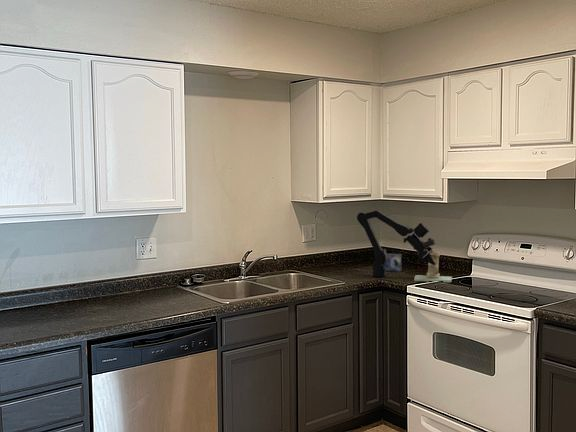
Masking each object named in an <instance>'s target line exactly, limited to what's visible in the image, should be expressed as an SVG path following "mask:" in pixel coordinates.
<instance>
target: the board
mask: <svg viewBox="0 0 576 432" xmlns="http://www.w3.org/2000/svg"><path fill="white" fill-rule="evenodd" d="M452 278H453V276H446V275H445V276H444V275H441V276H437V277H432V276H427V275H421V274H420V275H419V274H417V275H415V276H414V281H415V282H429V281H443V282H442V283H451V282H452V280H453V279H452Z"/></svg>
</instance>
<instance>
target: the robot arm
mask: <svg viewBox="0 0 576 432" xmlns="http://www.w3.org/2000/svg"><path fill="white" fill-rule="evenodd" d="M373 218H376V219H378V221H381V222H383V223H384V224H386V225H387V226H389V227H391V228H393V229H394V231H395V232H396V233H397V234H399V235H400V236H401V237H403V244H405V243H406V242H407V243H409V245H411V247H412V249H413V250H415V251H416V252H417V253H418V254H417V258H418V259H419V260H421V261H424V262H426V263H430V264H433V265H435V262H434V261H433V259H432V258H431V256H430V252H434V251H433V247H432V246H434V245H436V242H435V239H434V238H431V237H429V238H427V240H426V241H423V240H421V239H422V238H423V237H425V236H426V235H427V234H428V233H429V232H430V228H428V227H427V226H425V224H423V223H422V222H419V223H418V225H417V226H416V227H415V228H412V227H410V226H408V225H407V224H403V223H401V222H397V221H396V220H395V219H393V218H391V217H390V216H388V215H386V214H385V213H383V212H382V211H380V210H378V209H377V210H374V211H370V212H366V211H361V212H359V213H358V214H357V216H356V219H357V221H358V223H359V224H360V226H362V228H363V229H364V231H365V234H366V236H367V237H368V240H369V242H370V245H371V247H372V248H373V252H374V257H375V260H373V262H372V263H371V265H372V276H371V277H372V278H384V277H385V276H386V271H385V268H384V264H385V262H387V260H388V254H387V249H386V248H384V249H383V248H382V247H381V244H380V242H379V240H378V238H377V236H376V234H375V232H374V230H373V227H372V224H371V219H373ZM412 233H413V234H412ZM420 238H421V239H420ZM428 252H429V253H428Z"/></svg>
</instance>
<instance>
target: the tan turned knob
mask: <svg viewBox="0 0 576 432" xmlns="http://www.w3.org/2000/svg"><path fill="white" fill-rule="evenodd" d="M428 253H429V252H428ZM430 256H431V258H432V259H433V261H434V262H435V265H433V264H430V263H428V262H427V263H428V267H427V272H426V276H432V277H437V276H440V275H441V273H439V262H440V261H439V260H440V259H439V258H440V257H441V252H439V251H433V252H430Z"/></svg>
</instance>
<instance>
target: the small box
mask: <svg viewBox="0 0 576 432" xmlns="http://www.w3.org/2000/svg"><path fill="white" fill-rule="evenodd" d="M387 254H388V260H387V262H385V264H384V265H383V266H384V268H385V272H388V271H389V272H393V273H402V270H403V269H402V265H403V264H402V257H403V254H402V253H387ZM389 272H388V273H389Z"/></svg>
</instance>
